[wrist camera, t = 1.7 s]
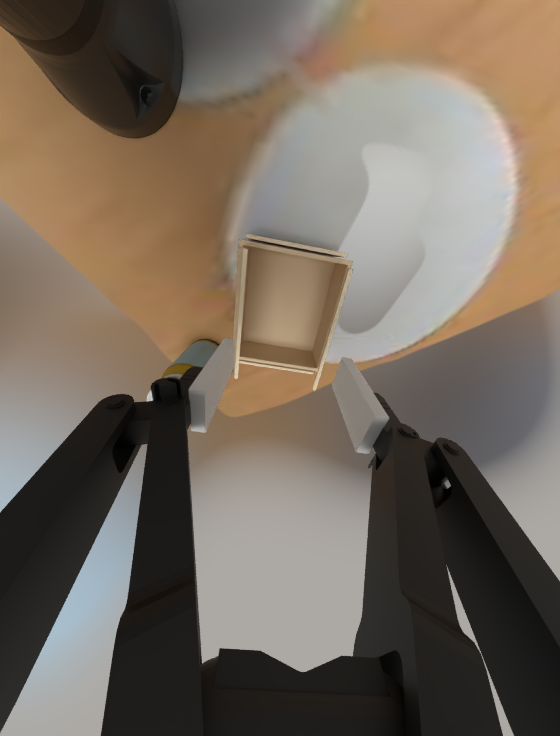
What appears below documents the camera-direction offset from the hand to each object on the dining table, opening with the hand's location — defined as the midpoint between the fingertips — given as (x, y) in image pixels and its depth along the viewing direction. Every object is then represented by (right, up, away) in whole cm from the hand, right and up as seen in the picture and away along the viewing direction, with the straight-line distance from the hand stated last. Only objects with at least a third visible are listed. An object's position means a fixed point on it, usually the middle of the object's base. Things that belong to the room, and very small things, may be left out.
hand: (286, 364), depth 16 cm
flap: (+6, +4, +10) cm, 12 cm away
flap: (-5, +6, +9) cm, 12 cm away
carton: (0, +11, +19) cm, 21 cm away
